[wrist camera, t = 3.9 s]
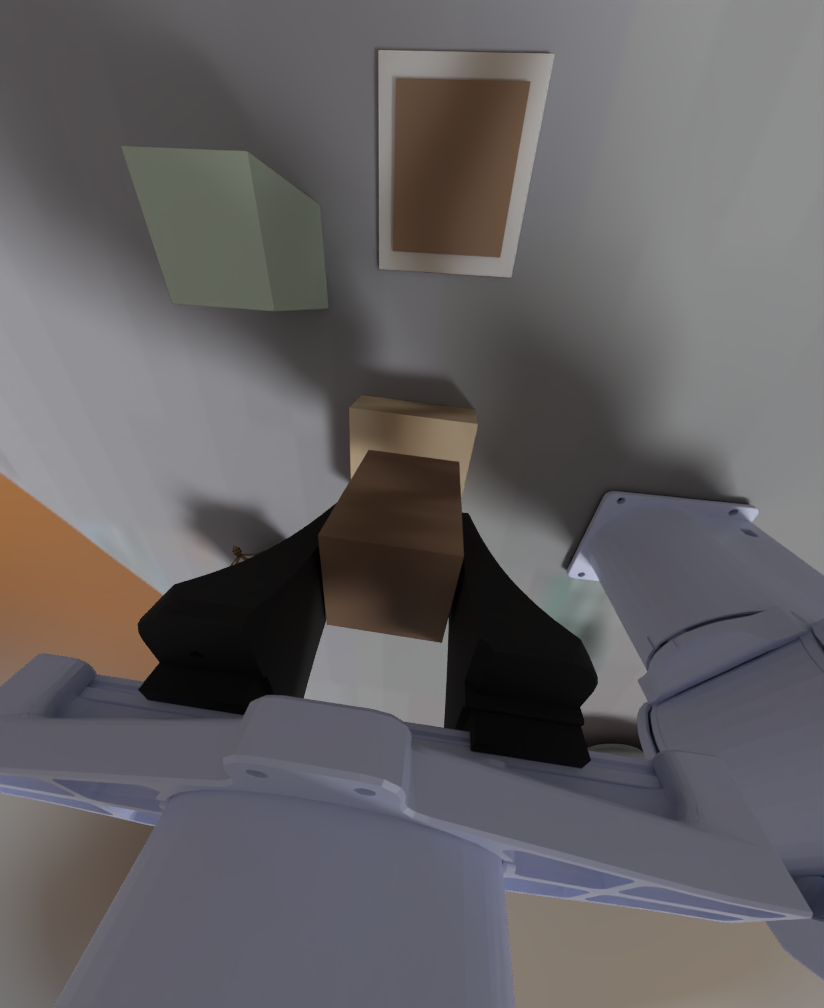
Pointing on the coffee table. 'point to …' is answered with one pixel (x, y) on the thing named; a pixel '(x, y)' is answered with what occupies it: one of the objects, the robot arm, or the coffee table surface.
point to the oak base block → (411, 431)
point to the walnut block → (394, 547)
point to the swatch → (456, 157)
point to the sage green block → (229, 230)
